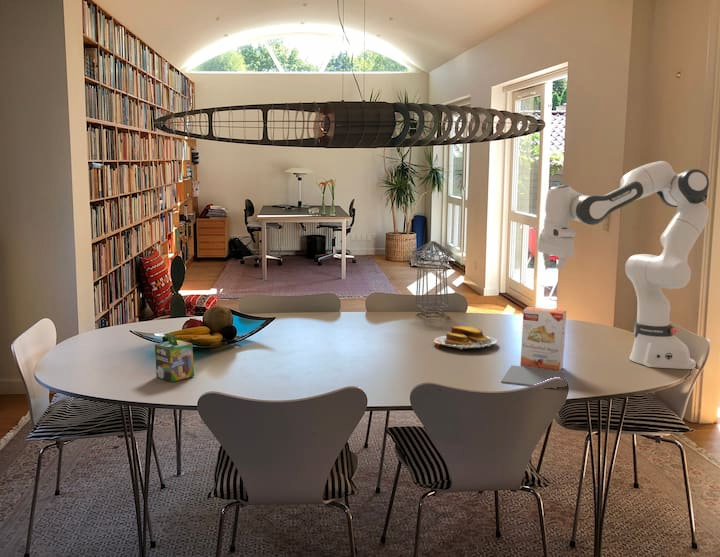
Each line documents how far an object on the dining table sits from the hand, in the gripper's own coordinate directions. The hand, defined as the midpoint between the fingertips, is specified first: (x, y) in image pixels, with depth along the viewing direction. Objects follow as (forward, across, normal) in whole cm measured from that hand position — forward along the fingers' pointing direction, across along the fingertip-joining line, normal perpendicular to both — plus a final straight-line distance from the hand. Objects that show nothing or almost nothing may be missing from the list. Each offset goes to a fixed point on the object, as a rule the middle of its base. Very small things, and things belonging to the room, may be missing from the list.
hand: (553, 267), depth 266 cm
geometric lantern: (+34, -80, -18) cm, 89 cm away
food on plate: (+35, -22, -24) cm, 48 cm away
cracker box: (+34, +12, -8) cm, 37 cm away
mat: (+34, +23, -17) cm, 44 cm away
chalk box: (+37, -2, -135) cm, 140 cm away
